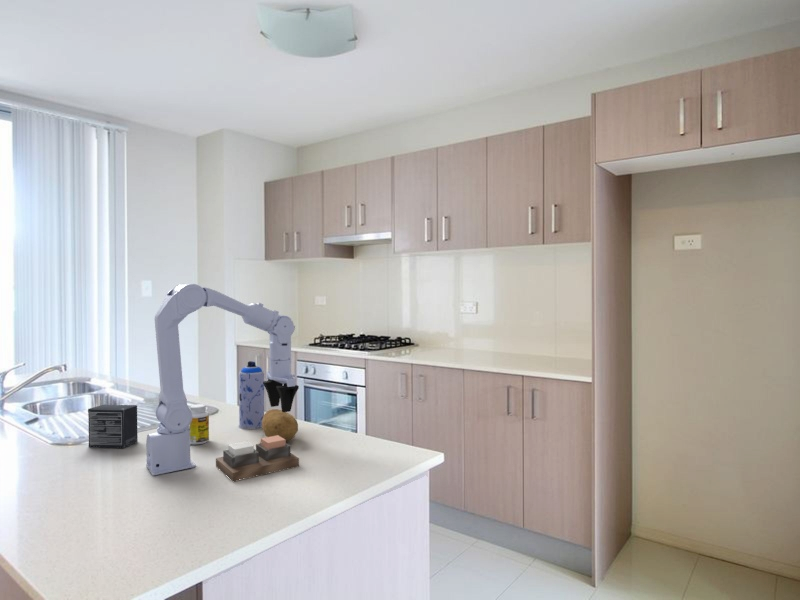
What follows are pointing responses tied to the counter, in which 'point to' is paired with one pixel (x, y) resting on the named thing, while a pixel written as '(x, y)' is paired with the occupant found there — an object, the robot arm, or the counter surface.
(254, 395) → the aerosol can
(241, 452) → the cream key
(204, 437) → the supplement bottle
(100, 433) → the small box
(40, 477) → the counter surface
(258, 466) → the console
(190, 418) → the robot arm
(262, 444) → the terracotta key
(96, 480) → the counter surface
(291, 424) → the potato
